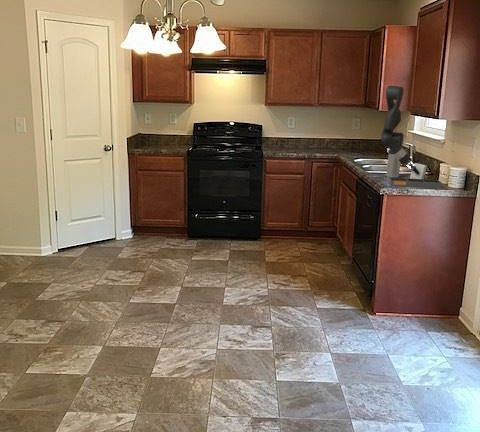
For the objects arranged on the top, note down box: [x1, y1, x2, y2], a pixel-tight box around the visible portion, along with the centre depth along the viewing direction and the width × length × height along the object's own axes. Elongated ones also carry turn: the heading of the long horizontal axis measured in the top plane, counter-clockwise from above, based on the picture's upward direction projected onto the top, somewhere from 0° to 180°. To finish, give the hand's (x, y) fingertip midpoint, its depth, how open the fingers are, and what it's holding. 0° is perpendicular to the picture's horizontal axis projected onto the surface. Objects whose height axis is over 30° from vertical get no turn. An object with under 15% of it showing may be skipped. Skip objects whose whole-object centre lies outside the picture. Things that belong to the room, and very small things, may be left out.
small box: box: [409, 162, 427, 179], centre depth 363 cm, size 8×6×13 cm
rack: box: [387, 177, 443, 190], centre depth 354 cm, size 12×34×4 cm, turn 83°
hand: (416, 172), depth 364 cm, fingers closed on small box, 8 cm apart
